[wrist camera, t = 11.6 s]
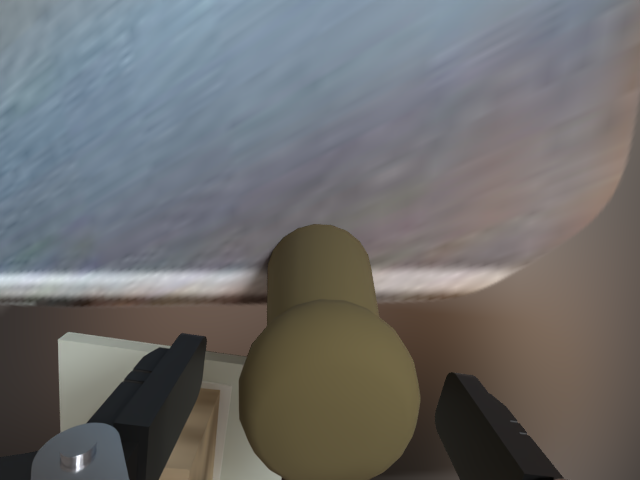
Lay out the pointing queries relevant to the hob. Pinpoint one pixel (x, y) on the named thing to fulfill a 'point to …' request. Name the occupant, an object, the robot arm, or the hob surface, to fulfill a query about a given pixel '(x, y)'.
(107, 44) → the hob surface
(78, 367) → the board
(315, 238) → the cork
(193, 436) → the oak block
